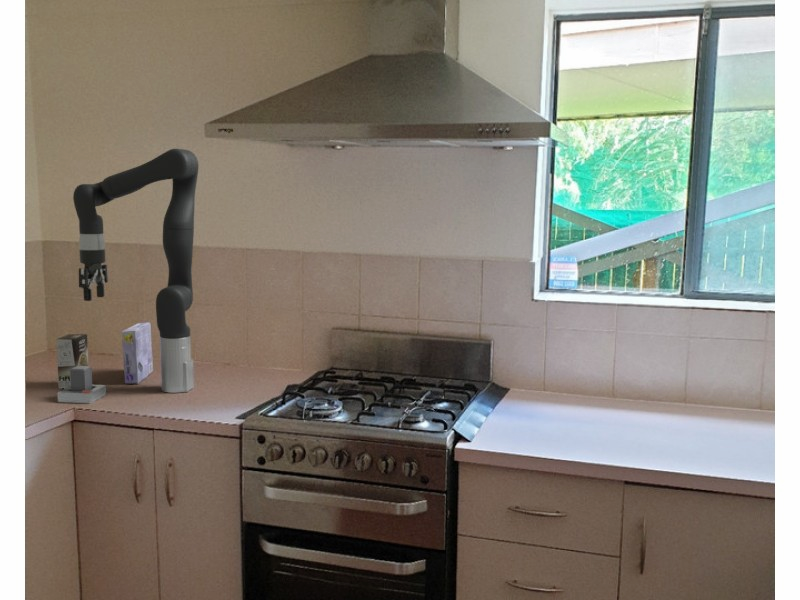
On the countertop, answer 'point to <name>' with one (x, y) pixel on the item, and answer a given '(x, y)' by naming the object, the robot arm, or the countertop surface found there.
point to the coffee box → (70, 356)
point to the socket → (82, 394)
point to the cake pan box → (137, 352)
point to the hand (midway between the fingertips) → (94, 298)
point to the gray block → (81, 378)
